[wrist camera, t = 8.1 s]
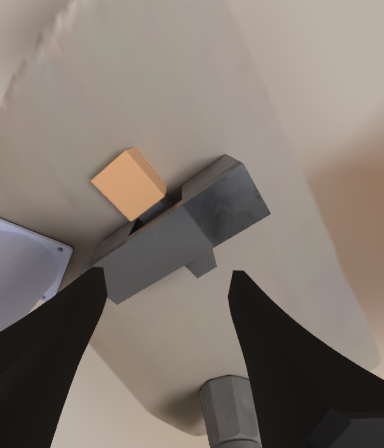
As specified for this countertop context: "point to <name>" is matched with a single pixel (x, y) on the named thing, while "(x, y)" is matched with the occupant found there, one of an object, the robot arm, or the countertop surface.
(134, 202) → the plug
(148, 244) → the grey bridge block
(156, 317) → the countertop surface
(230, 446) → the coffeepot
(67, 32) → the countertop surface
